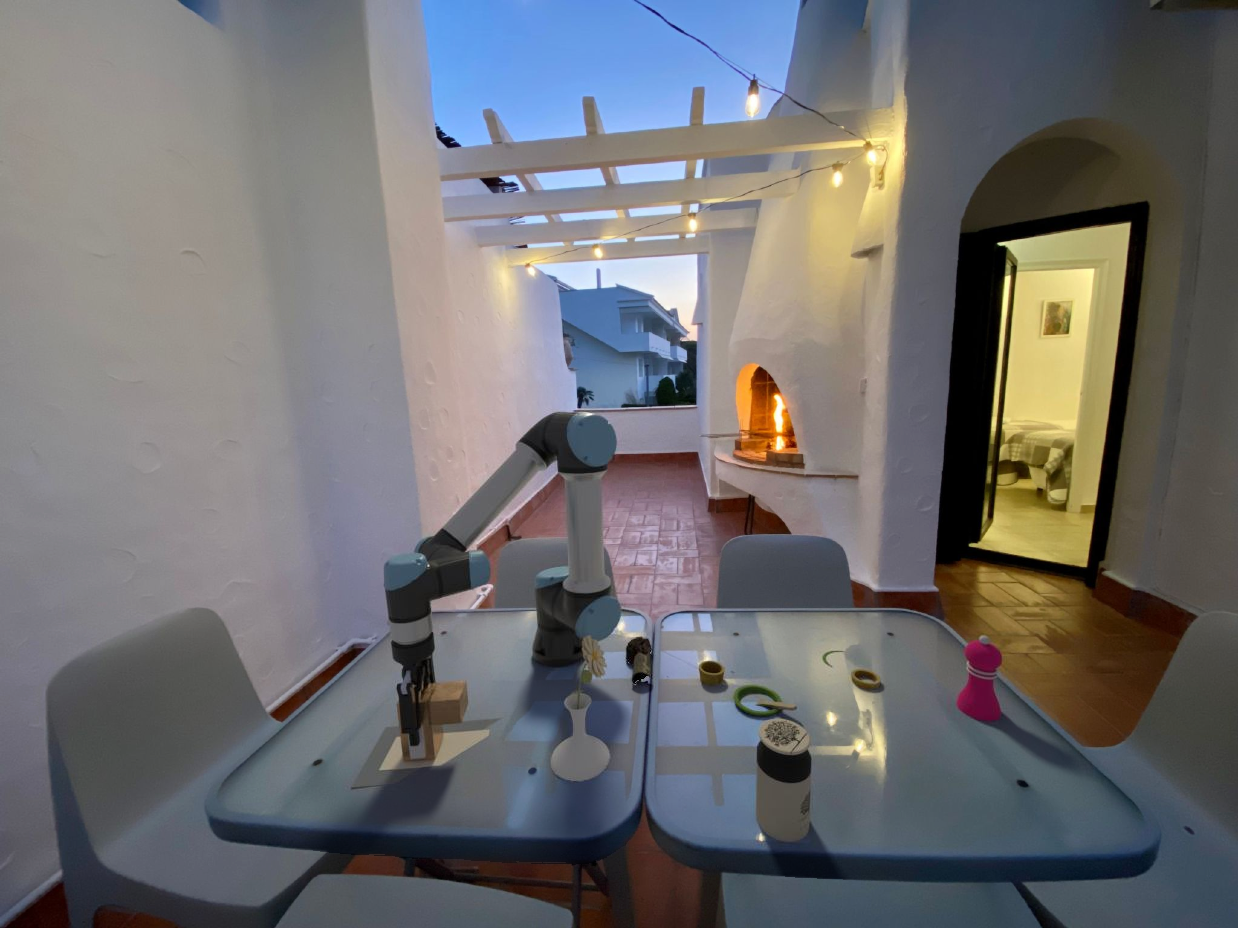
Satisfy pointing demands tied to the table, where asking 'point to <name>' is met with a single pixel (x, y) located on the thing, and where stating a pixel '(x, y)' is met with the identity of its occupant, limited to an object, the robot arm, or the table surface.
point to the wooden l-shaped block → (437, 714)
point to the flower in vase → (582, 726)
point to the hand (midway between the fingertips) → (423, 743)
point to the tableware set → (714, 675)
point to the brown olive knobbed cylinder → (639, 658)
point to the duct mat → (391, 768)
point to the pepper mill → (981, 681)
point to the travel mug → (783, 780)
